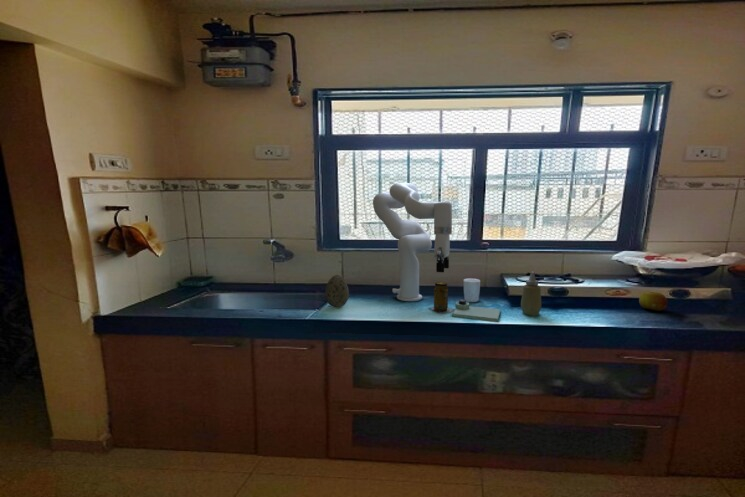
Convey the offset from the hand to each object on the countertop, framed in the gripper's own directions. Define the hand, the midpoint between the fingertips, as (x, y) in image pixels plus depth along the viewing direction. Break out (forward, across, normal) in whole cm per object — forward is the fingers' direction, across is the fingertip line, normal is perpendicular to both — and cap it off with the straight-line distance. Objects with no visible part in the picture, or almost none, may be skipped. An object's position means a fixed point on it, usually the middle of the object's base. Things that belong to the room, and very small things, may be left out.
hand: (442, 270), depth 152 cm
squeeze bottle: (+19, -8, +36) cm, 41 cm away
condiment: (+18, 0, 0) cm, 18 cm away
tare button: (+16, -3, +8) cm, 18 cm away
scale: (+18, 0, +14) cm, 23 cm away
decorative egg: (+18, +13, -46) cm, 51 cm away
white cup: (+18, -20, +10) cm, 29 cm away
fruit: (+19, -32, +84) cm, 92 cm away
